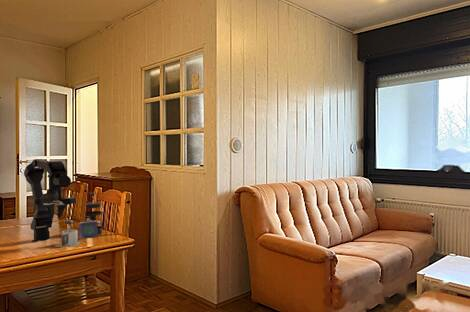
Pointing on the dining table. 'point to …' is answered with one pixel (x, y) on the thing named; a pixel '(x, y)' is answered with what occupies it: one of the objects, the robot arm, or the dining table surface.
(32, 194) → the robot arm
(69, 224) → the plunger
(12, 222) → the dining table surface
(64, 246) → the coaster
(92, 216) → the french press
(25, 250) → the dining table surface
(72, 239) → the grey boxy piece
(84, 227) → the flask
